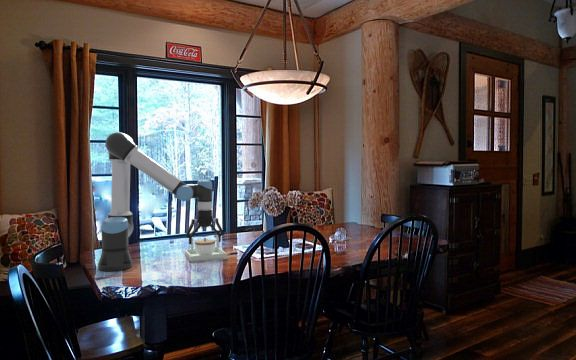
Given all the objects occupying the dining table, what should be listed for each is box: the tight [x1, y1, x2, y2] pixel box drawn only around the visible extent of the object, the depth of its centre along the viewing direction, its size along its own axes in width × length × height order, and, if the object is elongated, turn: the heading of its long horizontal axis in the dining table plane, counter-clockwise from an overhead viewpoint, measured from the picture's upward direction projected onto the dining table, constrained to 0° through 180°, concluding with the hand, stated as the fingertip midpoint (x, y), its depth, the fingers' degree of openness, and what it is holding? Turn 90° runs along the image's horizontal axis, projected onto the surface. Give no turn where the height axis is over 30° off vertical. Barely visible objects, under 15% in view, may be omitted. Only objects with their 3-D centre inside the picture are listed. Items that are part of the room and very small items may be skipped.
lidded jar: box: [194, 237, 216, 255], centre depth 218 cm, size 11×11×9 cm
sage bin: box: [184, 246, 228, 263], centre depth 218 cm, size 19×19×3 cm
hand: (204, 249), depth 218 cm, fingers open, 13 cm apart
